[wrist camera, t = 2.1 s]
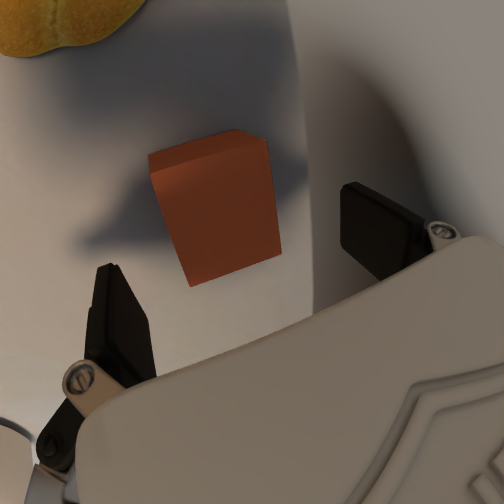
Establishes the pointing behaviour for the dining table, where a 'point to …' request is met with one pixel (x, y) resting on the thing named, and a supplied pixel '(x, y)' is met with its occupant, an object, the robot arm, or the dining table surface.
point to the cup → (14, 466)
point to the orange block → (217, 203)
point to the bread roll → (59, 23)
